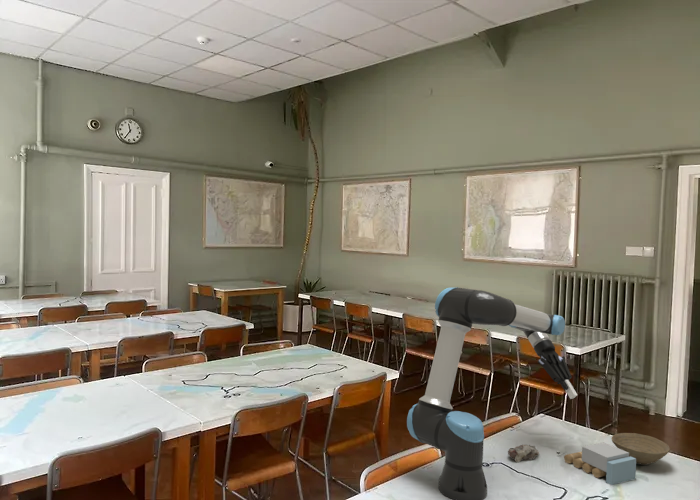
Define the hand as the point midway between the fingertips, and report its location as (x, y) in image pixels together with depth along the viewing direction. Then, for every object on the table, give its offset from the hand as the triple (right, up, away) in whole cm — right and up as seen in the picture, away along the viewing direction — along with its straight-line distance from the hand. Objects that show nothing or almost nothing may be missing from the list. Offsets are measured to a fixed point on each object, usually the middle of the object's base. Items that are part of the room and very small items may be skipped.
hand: (573, 396), depth 191 cm
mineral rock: (-19, -22, -1) cm, 30 cm away
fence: (+8, -23, -18) cm, 30 cm away
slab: (+5, -20, -12) cm, 24 cm away
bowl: (+23, -24, -3) cm, 33 cm away
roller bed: (+3, -23, -8) cm, 24 cm away
